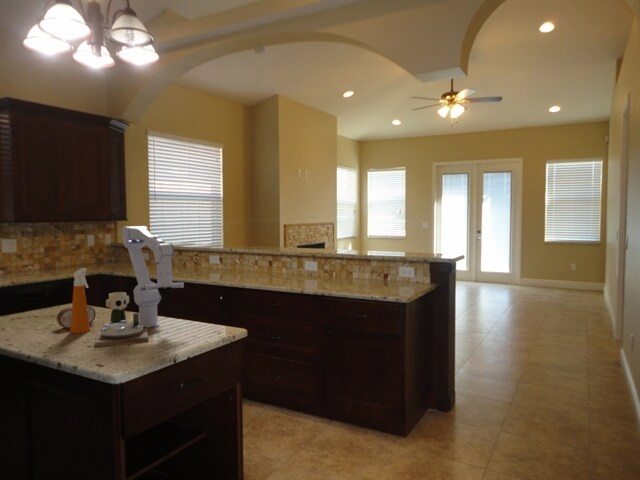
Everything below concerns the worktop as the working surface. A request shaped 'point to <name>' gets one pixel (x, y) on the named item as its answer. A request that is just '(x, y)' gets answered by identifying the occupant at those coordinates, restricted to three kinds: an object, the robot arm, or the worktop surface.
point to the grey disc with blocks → (123, 328)
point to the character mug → (117, 306)
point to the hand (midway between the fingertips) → (165, 306)
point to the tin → (66, 316)
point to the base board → (121, 339)
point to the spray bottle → (79, 304)
